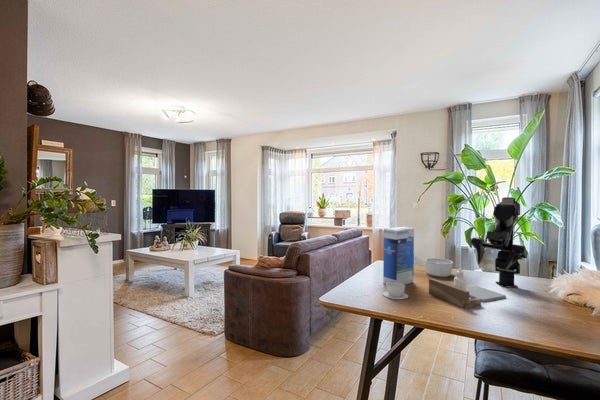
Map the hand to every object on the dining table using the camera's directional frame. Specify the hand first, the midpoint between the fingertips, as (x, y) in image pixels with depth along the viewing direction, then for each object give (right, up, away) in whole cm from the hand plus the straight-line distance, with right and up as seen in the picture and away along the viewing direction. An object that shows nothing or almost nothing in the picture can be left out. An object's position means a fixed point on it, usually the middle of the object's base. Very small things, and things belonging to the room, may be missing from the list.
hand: (491, 266), depth 116 cm
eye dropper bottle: (-11, -13, +3) cm, 18 cm away
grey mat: (-1, -13, +7) cm, 15 cm away
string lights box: (-29, -13, +22) cm, 39 cm away
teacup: (-36, -13, +6) cm, 39 cm away
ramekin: (-3, -13, +38) cm, 40 cm away
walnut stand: (-14, -13, +2) cm, 19 cm away
